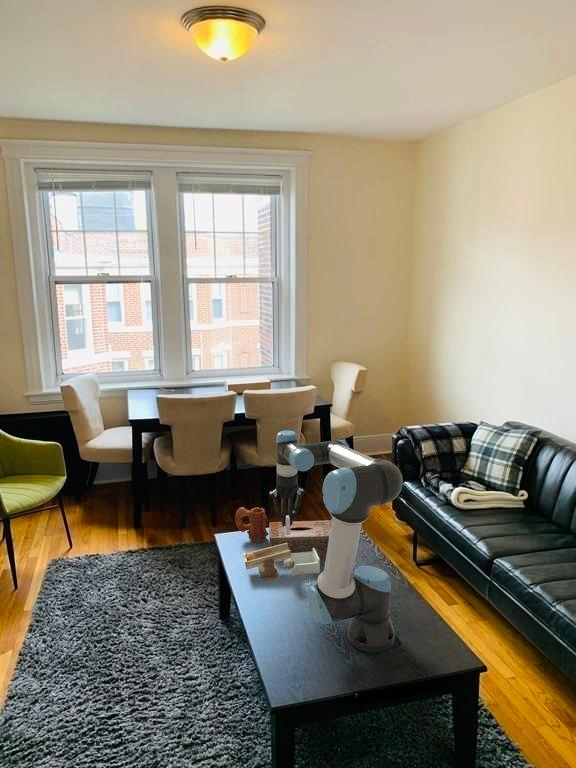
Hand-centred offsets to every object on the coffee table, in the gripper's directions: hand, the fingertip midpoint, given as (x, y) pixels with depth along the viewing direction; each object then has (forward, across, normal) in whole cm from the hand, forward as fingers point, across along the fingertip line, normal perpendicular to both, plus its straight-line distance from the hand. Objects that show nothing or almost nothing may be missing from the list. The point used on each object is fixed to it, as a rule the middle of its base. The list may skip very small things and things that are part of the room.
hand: (287, 533), depth 207 cm
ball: (+14, +12, -11) cm, 22 cm away
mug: (+22, +8, -39) cm, 45 cm away
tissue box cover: (+22, -11, -25) cm, 35 cm away
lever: (+16, +6, -6) cm, 18 cm away
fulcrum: (+22, +6, -11) cm, 25 cm away
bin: (+22, -9, -10) cm, 25 cm away
